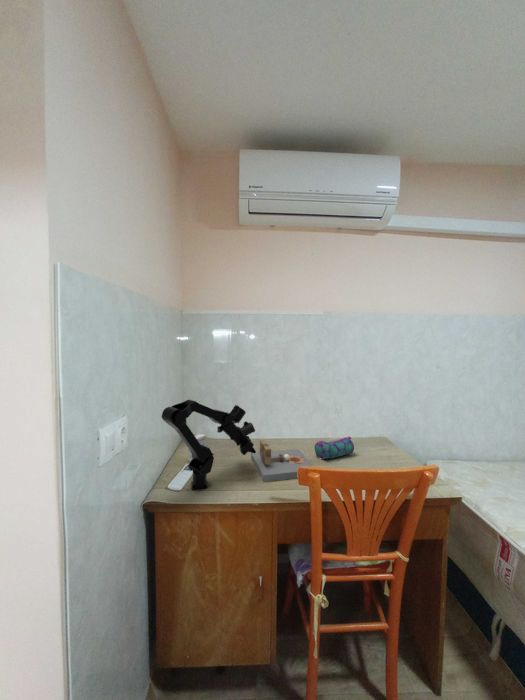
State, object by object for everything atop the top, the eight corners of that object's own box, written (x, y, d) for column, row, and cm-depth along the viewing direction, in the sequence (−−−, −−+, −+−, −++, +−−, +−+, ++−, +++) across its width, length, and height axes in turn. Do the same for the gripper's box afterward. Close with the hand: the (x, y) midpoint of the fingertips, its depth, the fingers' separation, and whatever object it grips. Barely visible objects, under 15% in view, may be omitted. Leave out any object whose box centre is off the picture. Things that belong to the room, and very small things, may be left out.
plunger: (286, 464, 130) (287, 447, 129) (265, 466, 127) (266, 449, 127) (279, 455, 140) (279, 439, 140) (259, 456, 138) (259, 441, 137)
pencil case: (324, 463, 141) (325, 444, 141) (313, 456, 149) (314, 438, 148) (354, 456, 150) (355, 439, 150) (343, 450, 158) (343, 433, 158)
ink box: (199, 455, 146) (200, 433, 146) (206, 457, 143) (207, 434, 143) (187, 460, 139) (188, 437, 138) (194, 463, 136) (195, 439, 136)
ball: (290, 461, 134) (290, 455, 134) (284, 461, 134) (284, 455, 134) (288, 458, 137) (288, 452, 137) (282, 459, 137) (282, 453, 136)
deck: (317, 475, 127) (317, 469, 127) (263, 482, 120) (263, 475, 120) (297, 454, 150) (297, 449, 150) (251, 458, 143) (251, 452, 143)
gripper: (249, 424, 120) (272, 447, 124) (241, 413, 138) (261, 433, 142) (231, 443, 118) (255, 466, 122) (225, 429, 136) (246, 449, 140)
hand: (255, 452), depth 131 cm, fingers closed
